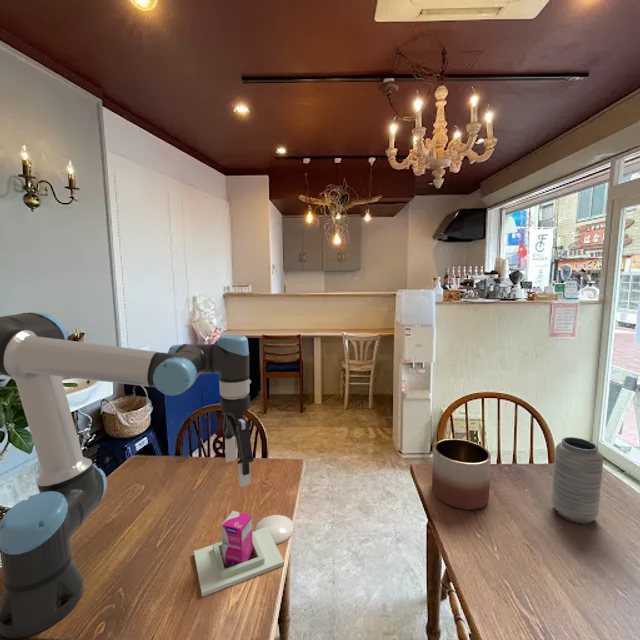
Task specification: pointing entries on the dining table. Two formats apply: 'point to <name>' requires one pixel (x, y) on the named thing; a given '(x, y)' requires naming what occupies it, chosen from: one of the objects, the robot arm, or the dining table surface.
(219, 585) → the header board
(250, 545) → the supplement box
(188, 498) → the dining table surface
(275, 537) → the white egg-shaped stone
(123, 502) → the dining table surface
